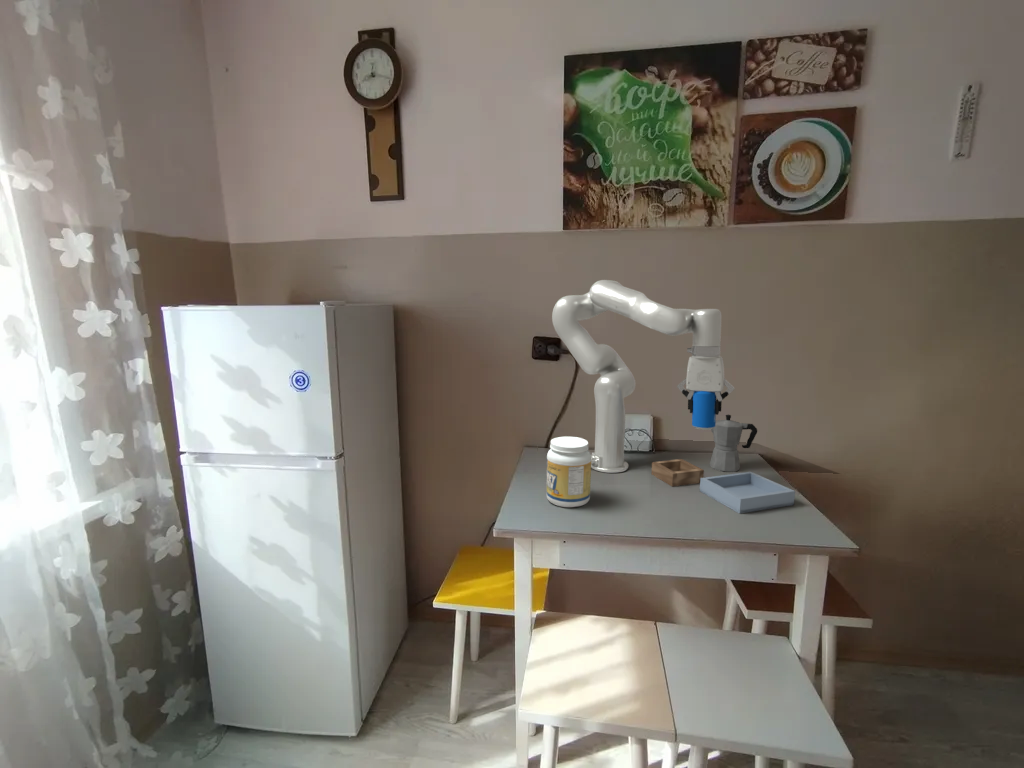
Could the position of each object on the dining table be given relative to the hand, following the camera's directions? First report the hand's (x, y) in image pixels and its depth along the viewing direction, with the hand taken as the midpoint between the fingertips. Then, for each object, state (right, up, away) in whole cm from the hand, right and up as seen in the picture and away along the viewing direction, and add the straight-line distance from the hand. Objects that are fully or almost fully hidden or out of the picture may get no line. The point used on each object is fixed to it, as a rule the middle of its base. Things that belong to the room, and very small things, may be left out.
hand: (704, 412), depth 148 cm
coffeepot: (+15, -20, +19) cm, 31 cm away
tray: (+9, -24, -6) cm, 26 cm away
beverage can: (0, -5, +1) cm, 5 cm away
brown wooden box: (-5, -21, +9) cm, 24 cm away
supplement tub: (-41, -24, -7) cm, 48 cm away
